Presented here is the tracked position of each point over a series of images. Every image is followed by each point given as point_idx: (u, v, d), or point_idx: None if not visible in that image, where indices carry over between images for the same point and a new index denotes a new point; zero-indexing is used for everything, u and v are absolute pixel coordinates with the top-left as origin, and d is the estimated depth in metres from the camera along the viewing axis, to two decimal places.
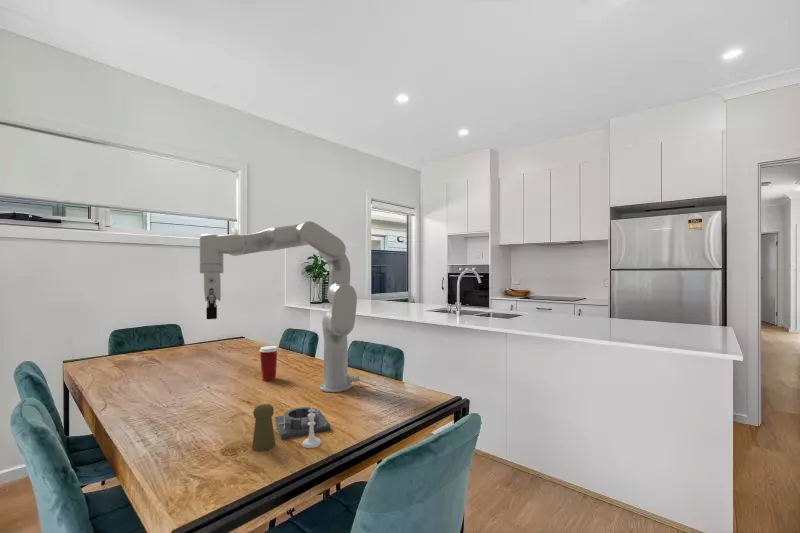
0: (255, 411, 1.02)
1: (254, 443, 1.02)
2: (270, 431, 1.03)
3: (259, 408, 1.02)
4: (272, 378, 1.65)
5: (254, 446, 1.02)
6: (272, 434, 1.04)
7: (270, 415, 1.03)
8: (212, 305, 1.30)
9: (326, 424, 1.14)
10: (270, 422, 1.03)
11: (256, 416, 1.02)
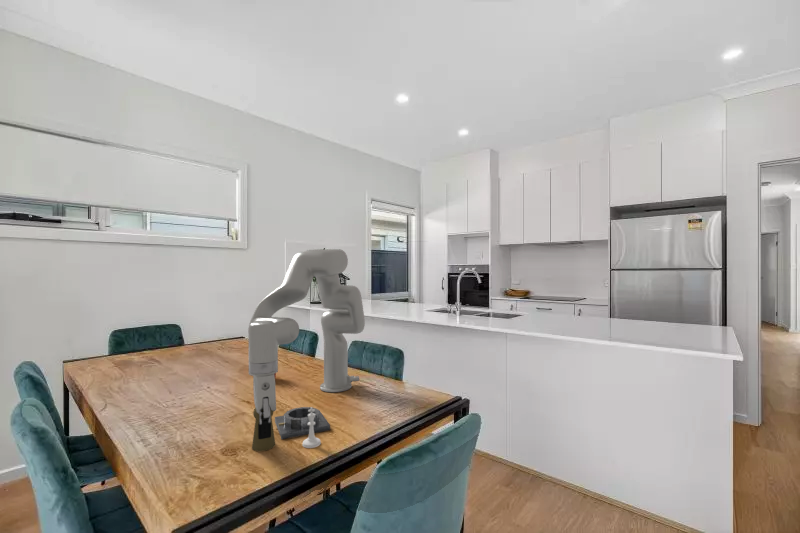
0: (255, 411, 1.02)
1: (254, 443, 1.02)
2: None
3: None
4: None
5: (254, 446, 1.02)
6: (272, 434, 1.04)
7: (270, 415, 1.03)
8: (266, 422, 1.00)
9: (326, 424, 1.14)
10: None
11: (256, 416, 1.02)
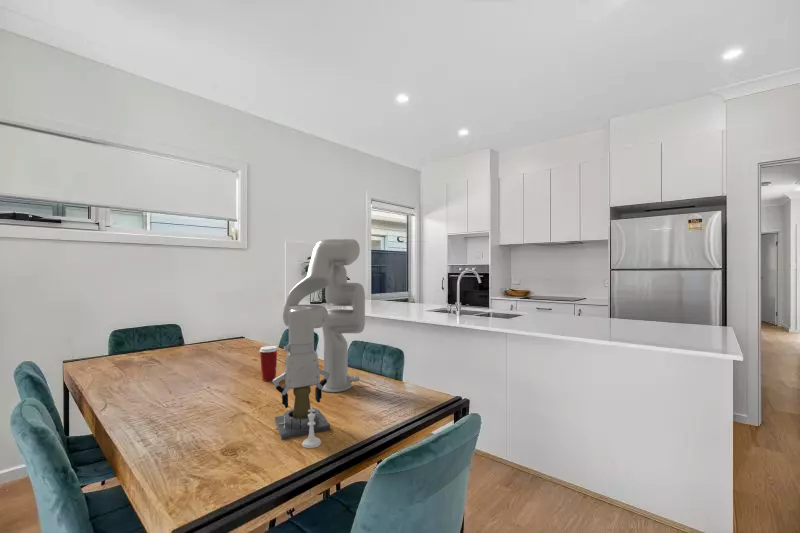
0: None
1: None
2: (296, 408, 1.15)
3: None
4: (272, 378, 1.65)
5: None
6: (298, 412, 1.15)
7: (296, 394, 1.15)
8: (279, 391, 1.15)
9: (326, 424, 1.14)
10: (298, 401, 1.15)
11: None
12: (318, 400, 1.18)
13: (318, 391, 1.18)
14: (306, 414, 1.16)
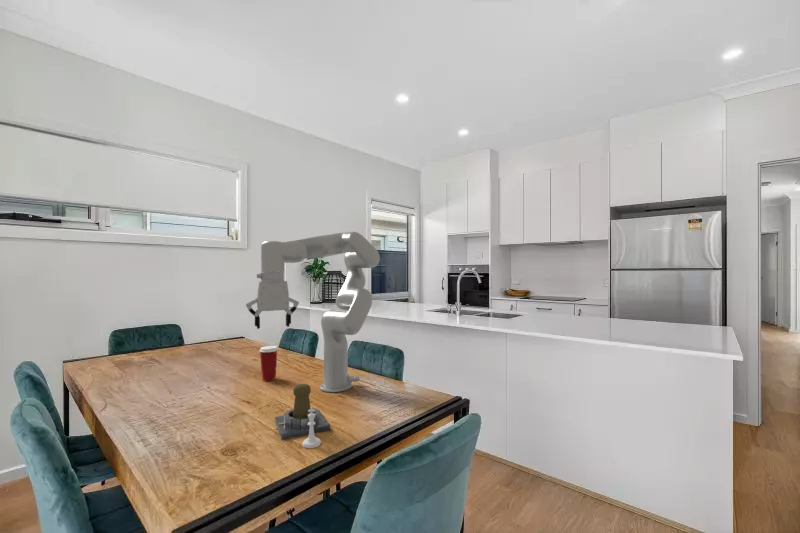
0: None
1: None
2: (296, 408, 1.15)
3: (296, 385, 1.18)
4: (272, 378, 1.65)
5: None
6: (298, 412, 1.15)
7: (296, 394, 1.15)
8: None
9: (326, 424, 1.14)
10: (298, 401, 1.15)
11: None
12: (288, 324, 1.32)
13: (288, 316, 1.32)
14: (306, 414, 1.16)
